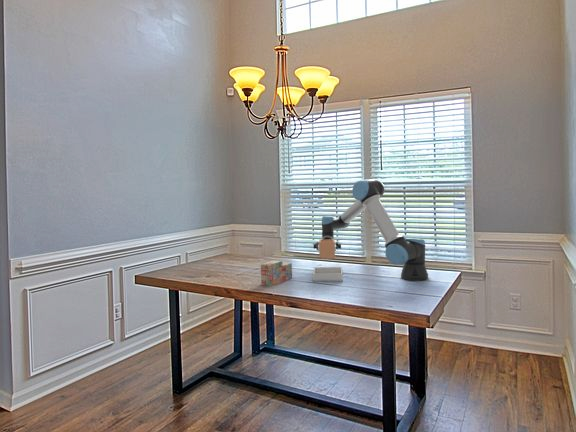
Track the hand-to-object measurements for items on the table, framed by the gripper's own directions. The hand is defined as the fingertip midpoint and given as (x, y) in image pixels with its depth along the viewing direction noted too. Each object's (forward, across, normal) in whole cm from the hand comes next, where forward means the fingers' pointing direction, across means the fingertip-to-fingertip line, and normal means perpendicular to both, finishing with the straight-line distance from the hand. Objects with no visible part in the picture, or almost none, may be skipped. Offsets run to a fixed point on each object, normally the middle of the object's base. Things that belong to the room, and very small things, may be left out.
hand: (327, 248), depth 240 cm
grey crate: (-4, 0, -18) cm, 19 cm away
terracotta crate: (-5, 0, -6) cm, 8 cm away
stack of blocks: (+4, +29, -19) cm, 35 cm away
